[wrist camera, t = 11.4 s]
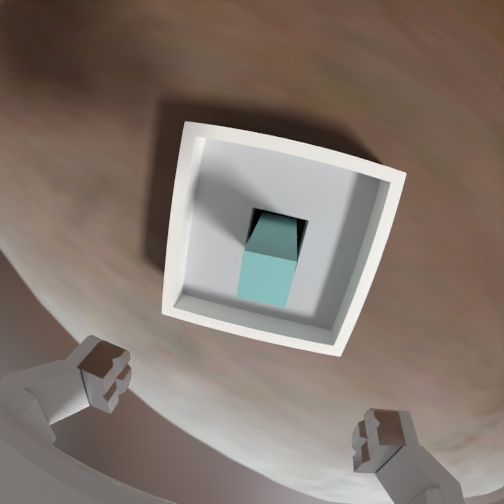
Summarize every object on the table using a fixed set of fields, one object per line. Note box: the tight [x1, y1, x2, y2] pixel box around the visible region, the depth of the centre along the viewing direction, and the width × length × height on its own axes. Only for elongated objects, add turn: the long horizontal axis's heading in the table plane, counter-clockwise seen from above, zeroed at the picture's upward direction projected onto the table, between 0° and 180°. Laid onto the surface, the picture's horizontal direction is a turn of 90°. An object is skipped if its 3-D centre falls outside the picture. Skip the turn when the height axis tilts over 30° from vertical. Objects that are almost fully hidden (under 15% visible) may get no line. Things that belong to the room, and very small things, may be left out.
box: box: [162, 121, 406, 357], centre depth 24 cm, size 16×16×5 cm
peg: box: [236, 212, 297, 307], centre depth 22 cm, size 3×3×10 cm
